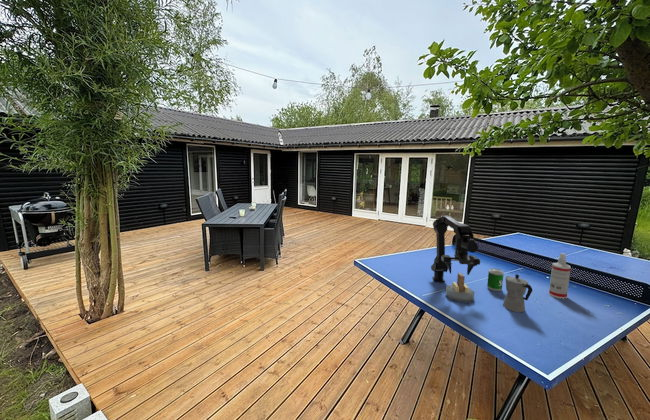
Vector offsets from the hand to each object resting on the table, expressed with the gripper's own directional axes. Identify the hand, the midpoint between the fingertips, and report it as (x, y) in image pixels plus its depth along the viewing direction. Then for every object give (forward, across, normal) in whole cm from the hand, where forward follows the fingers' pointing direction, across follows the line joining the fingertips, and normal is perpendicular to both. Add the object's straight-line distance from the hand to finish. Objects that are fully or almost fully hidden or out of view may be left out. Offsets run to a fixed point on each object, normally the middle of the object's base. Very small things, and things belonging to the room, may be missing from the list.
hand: (459, 274), depth 144 cm
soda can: (+13, +25, +14) cm, 31 cm away
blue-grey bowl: (+13, +1, -1) cm, 13 cm away
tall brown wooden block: (+9, +1, -1) cm, 9 cm away
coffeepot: (+13, +25, -10) cm, 30 cm away
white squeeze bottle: (+13, +57, +12) cm, 60 cm away
